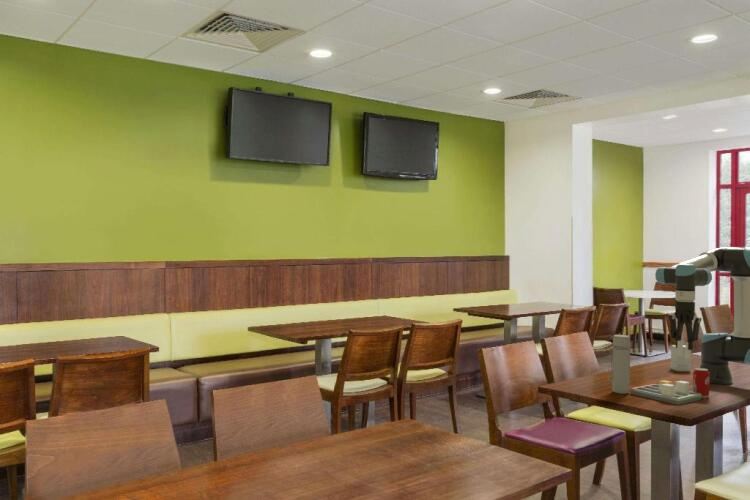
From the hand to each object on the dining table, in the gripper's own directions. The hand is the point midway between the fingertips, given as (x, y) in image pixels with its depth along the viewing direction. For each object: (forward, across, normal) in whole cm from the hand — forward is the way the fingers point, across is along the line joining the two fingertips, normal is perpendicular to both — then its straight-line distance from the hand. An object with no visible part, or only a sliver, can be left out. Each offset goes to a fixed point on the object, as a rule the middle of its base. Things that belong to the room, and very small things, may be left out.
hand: (684, 356), depth 273 cm
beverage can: (+19, 0, +14) cm, 23 cm away
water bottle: (+19, -24, -10) cm, 32 cm away
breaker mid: (+17, -8, 0) cm, 19 cm away
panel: (+19, -8, 0) cm, 20 cm away
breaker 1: (+17, -3, -5) cm, 18 cm away
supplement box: (+19, -38, +62) cm, 75 cm away
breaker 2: (+17, -3, +5) cm, 18 cm away
